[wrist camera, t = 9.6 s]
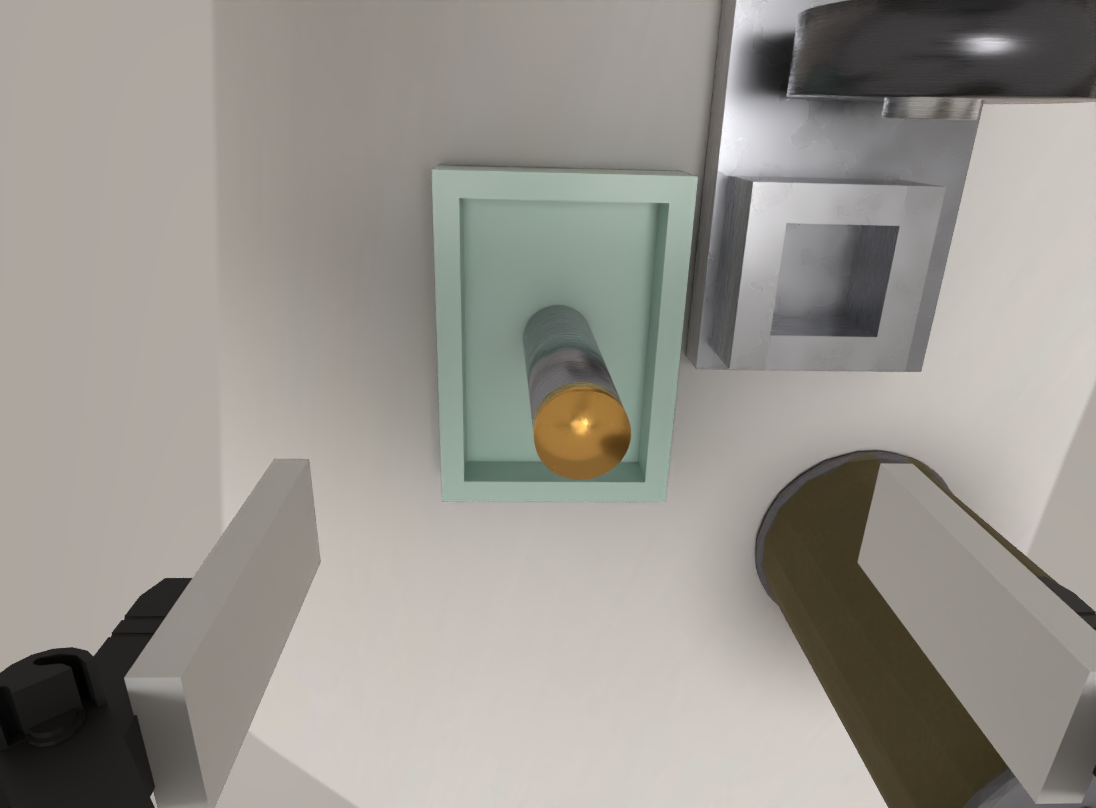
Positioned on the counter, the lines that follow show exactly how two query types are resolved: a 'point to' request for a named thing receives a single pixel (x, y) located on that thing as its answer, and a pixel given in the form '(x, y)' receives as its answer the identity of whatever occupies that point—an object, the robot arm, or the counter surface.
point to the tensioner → (855, 167)
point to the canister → (878, 646)
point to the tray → (545, 280)
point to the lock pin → (572, 396)
